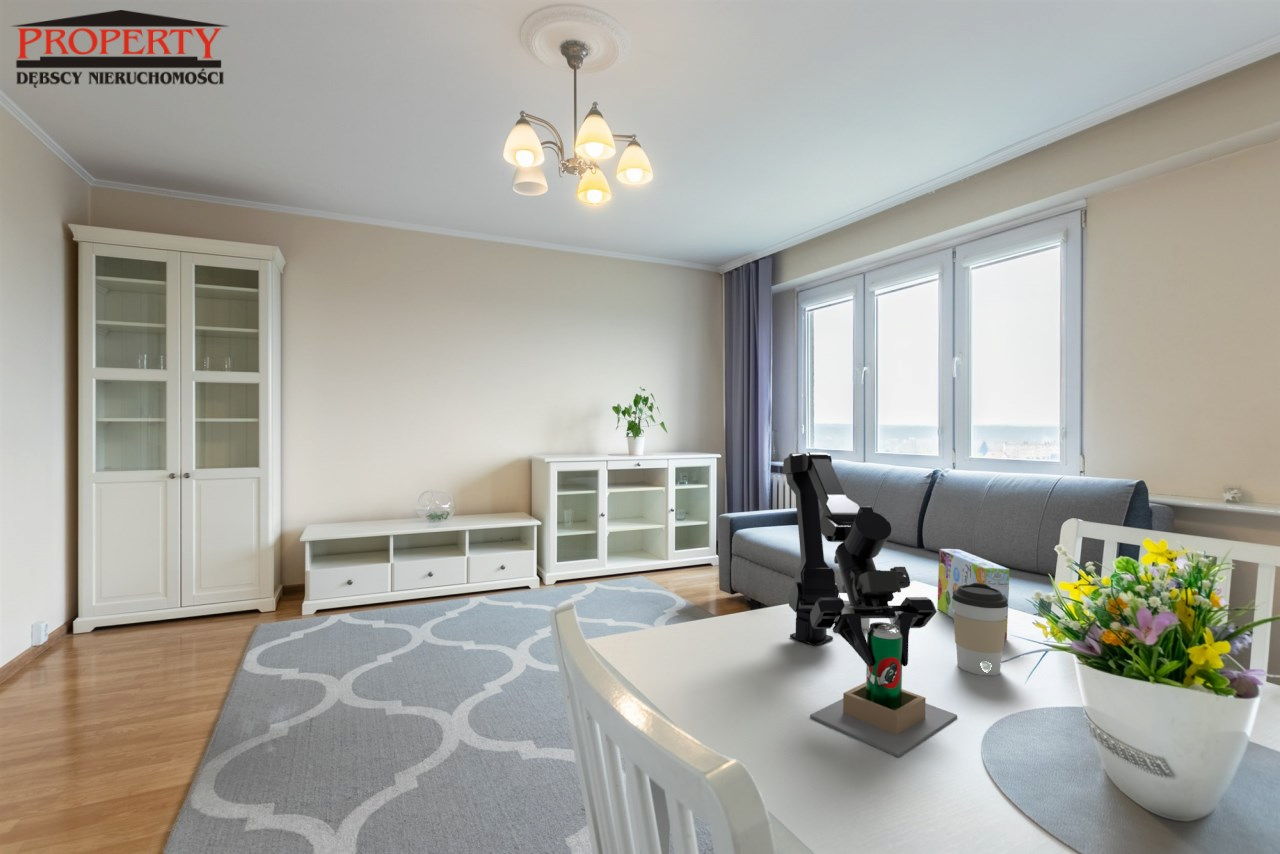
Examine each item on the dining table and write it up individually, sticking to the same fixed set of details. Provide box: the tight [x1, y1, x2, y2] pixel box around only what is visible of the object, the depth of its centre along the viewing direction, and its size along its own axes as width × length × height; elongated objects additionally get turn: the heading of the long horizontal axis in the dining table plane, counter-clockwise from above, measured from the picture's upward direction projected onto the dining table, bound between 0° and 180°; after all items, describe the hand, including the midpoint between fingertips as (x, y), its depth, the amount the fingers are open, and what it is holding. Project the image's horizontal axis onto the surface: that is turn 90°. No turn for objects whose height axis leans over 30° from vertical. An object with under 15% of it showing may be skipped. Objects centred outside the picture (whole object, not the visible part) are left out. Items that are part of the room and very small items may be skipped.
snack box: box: [937, 548, 1010, 640], centre depth 138 cm, size 21×6×15 cm, turn 179°
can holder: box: [809, 681, 958, 758], centre depth 92 cm, size 18×14×3 cm
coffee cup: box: [952, 583, 1009, 676], centre depth 112 cm, size 9×9×15 cm
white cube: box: [838, 592, 871, 630], centre depth 136 cm, size 6×6×6 cm
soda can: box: [865, 622, 903, 710], centre depth 93 cm, size 5×5×12 cm
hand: (888, 665), depth 91 cm, fingers closed on soda can, 5 cm apart
